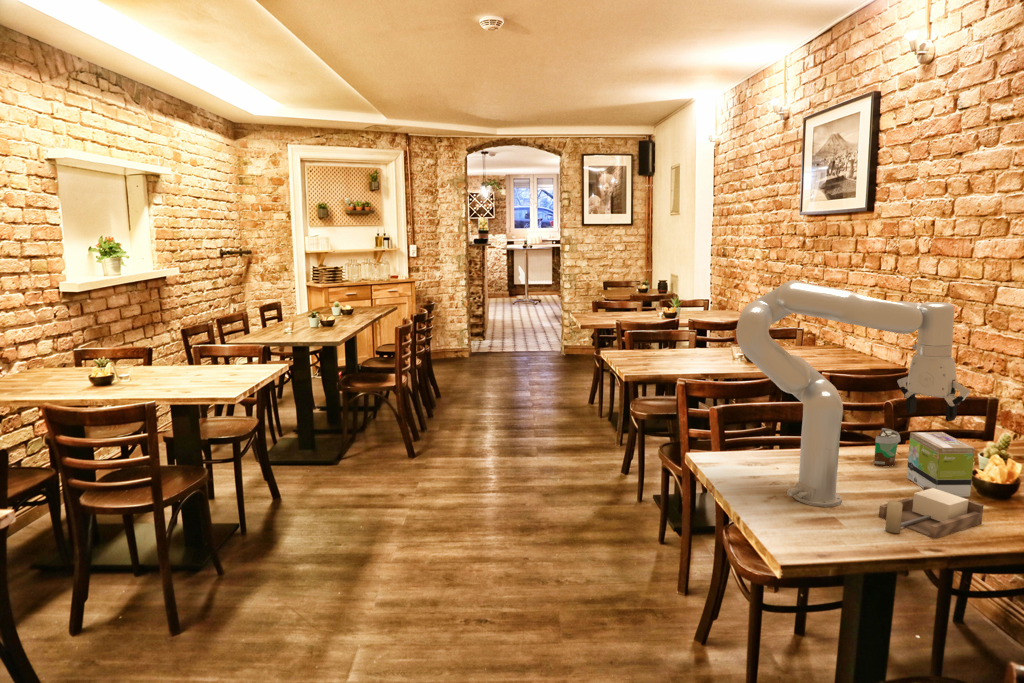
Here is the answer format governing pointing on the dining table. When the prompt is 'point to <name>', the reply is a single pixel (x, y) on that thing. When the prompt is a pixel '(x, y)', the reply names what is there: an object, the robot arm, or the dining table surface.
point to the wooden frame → (934, 526)
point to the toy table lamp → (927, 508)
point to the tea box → (940, 462)
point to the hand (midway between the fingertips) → (930, 416)
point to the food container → (886, 447)
